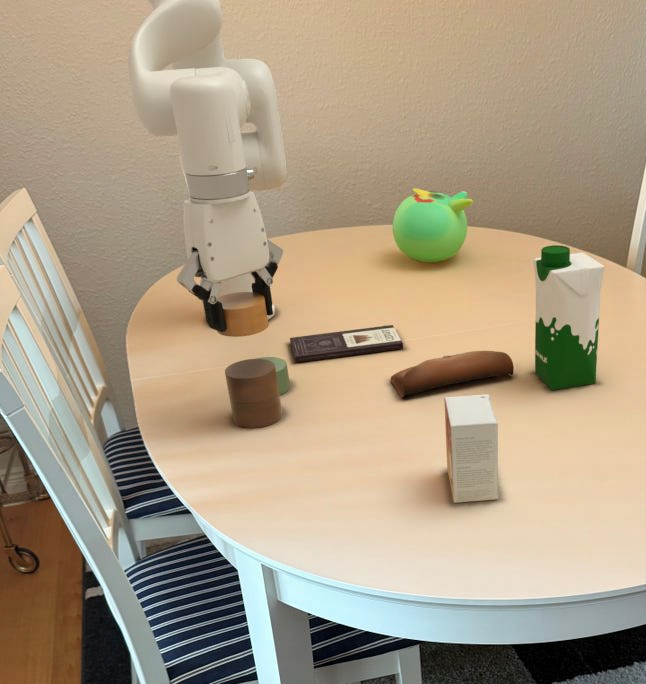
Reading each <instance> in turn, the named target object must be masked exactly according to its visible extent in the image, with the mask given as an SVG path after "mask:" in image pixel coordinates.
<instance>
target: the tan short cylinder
mask: <svg viewBox="0 0 646 684" xmlns="http://www.w3.org/2000/svg"><path fill="white" fill-rule="evenodd" d="M217 301H218V302H221V303H222V306H223V311H224V317H225V322H226V328H227V329H226V331H224V332H220V331H217V330H216V332H217V333H218V334H219V335H221V336H225V337H230V338H231V337H232V338H233V337H234V338H239V337H240V338H241V337H248V336H254V335H256V334H259V333H262V332H264V331H265V330H266V329H268V328H269V325H270V324H269V320H268V317H267V310H266V304H265V298H264V296H263V295H261V294H258V293H253V292H239V293H232V294H227V295H223V296H221V297H218V299H217Z"/></svg>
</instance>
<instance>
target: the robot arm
mask: <svg viewBox="0 0 646 684" xmlns="http://www.w3.org/2000/svg"><path fill="white" fill-rule="evenodd" d="M147 1H148V3H149V5H150V6H151V9H152V11H151V13H150V14H149V15H148V16H147V17H146V18H145V19H144V20H143V22H142V23H141V24H140V26H139V27H138V29H136V30H137V31H136V32H135V33H134V36H133V37H132V40H131V42H130V46H129V48H128V49H129V50H128V56H127V57H128V58H127V60H128V62H127V63H128V64H127V65H128V74H129V84H130V90H131V99H132V104H133V109H134V112H135V116H136V118H137V121H138V122H139V124H140V126H141V127H142V129H144V131H145V132H146V133H148V134H150V135H152V136H155V137H175V136H177V141H178V144H179V150H180V151H179V162H180V167H181V170H182V174H183V176H184V180H185V182H186V183H185V184H186V186H187V192H188V197H189V198H188V199H185V200H184V201H183V232H184V244H185V251H186V257H187V261H186V262H185V264H184V265H183V267H182V268H181V270H180V271H179V273H178V275H177V277H176V282H177V283H179V285H181V286H182V287H183V288H184V289H185V290H187V291H188V292H189V293H190V294H192V295H193V296H194V297H196V298H197V299H198V300H199V301H201V302H202V305H203V310H204V315H205V320H206V323H207V325H208V327H209V328H210V329H212V330H214V331H216V332H217V331H220V332H224V331H226V329H227V328H226V322H225V317H224V311H223V306H222V303H221V302H218V301H217V299H218V297H221V296H223V295H227V294H232V293H239V292H253V293H258V294H261V295H263V296H264V298H265V304H266V310H267V317H268V321H269V320H271V319H272V318H273V317H274V316H275V314H276V306H275V305H274V304H273V298H272V291H271V286H272V285H273V283H274V276H275V274H276V272H277V270H278V268H279V264H280V262H281V259H282V257H283V254H284V250H283V248H281V247H280V246H279V245H277V244H276V243H274V242H272V241H271V240H270V239H268V238H267V237H268V236H267V232H266V228H265V224H264V220H263V215H262V212H261V209H260V206H259V203H258V200H257V198H256V195H255V193H254V192H256V191H258V192H259V191H266V190H274V189H278V188H280V187H282V186H283V185H285V182H286V180H287V175H288V174H287V173H288V172H287V171H288V169H287V158H286V150H285V144H284V136H283V129H282V123H281V122H282V121H281V115H280V109H279V101H278V100H279V99H278V96H277V95H278V94H277V89H276V86H275V80H274V77H273V74H272V72H271V69H270V67H268V65H267V64H266V63H265V62H264V61H262V60H260V59H257V58H234V59H227V58H226V57H225V54H224V49H223V42H222V41H223V40H222V35H221V29H222V26H223V19H224V18H223V11H222V6H221V1H220V0H147ZM168 66H171V67H170V68H171V69H165V68H167V67H168ZM245 124H250V125H252V126H253V127H254V129H255V130H248V131H241V128H242V127H243V126H245ZM195 278H200V281H199V284H198V283H197V282H196V281H195Z"/></svg>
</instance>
